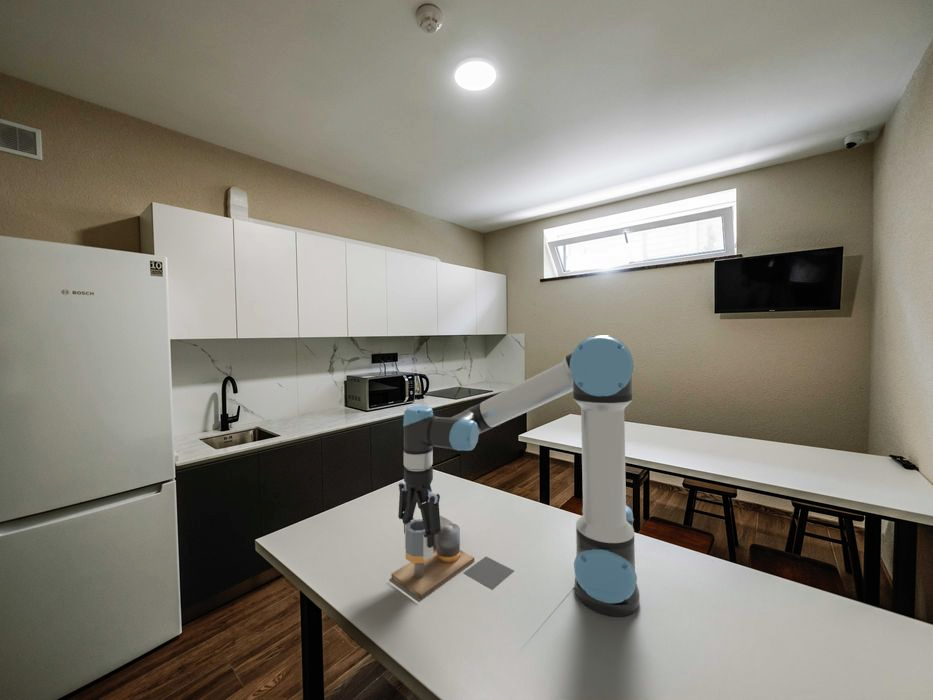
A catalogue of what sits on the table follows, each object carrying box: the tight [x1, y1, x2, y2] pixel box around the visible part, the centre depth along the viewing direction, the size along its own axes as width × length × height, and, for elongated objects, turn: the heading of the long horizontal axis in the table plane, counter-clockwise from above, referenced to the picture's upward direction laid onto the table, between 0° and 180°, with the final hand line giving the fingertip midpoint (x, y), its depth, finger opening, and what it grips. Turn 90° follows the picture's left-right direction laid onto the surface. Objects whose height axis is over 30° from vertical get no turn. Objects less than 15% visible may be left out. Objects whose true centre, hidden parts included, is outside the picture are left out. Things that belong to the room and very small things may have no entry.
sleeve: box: [405, 518, 431, 563], centre depth 97 cm, size 7×7×8 cm
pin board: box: [391, 522, 475, 600], centre depth 101 cm, size 12×20×10 cm, turn 139°
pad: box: [463, 556, 515, 591], centre depth 100 cm, size 10×10×1 cm
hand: (418, 552), depth 97 cm, fingers closed on sleeve, 7 cm apart
